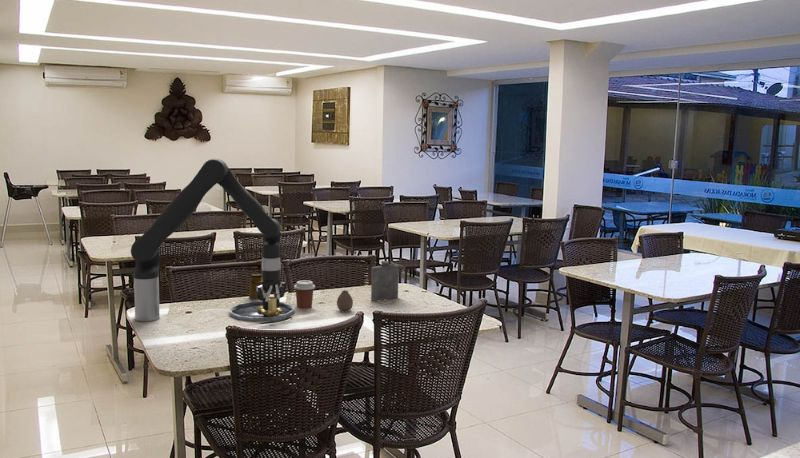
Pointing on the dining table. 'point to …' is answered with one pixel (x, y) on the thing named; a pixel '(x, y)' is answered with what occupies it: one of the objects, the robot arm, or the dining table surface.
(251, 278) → the condiment
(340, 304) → the brown rounded lump
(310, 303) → the coffee cup
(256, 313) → the tray
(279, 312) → the planet gear
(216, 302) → the dining table surface
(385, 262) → the flask
